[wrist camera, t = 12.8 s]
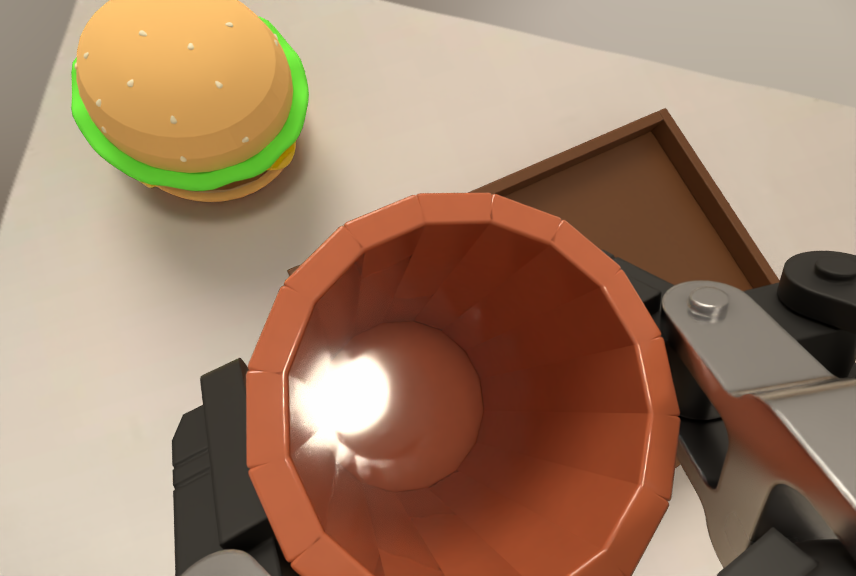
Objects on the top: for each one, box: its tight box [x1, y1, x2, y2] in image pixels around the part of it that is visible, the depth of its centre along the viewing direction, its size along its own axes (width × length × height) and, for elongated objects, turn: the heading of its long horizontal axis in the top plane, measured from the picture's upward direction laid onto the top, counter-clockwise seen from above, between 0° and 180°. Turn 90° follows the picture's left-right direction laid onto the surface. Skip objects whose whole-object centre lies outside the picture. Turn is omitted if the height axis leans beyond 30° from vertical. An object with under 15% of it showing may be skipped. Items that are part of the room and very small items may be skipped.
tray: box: [287, 108, 780, 468], centre depth 29 cm, size 30×21×2 cm
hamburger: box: [71, 0, 309, 202], centre depth 25 cm, size 12×12×9 cm
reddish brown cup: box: [246, 193, 681, 576], centre depth 10 cm, size 6×6×8 cm
